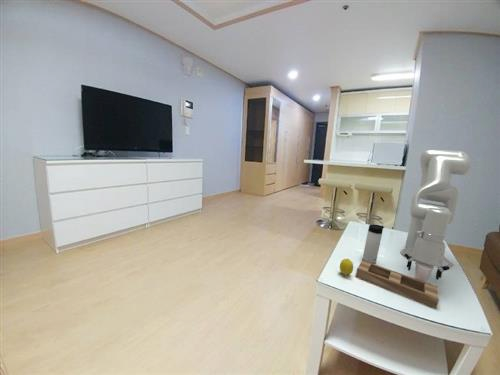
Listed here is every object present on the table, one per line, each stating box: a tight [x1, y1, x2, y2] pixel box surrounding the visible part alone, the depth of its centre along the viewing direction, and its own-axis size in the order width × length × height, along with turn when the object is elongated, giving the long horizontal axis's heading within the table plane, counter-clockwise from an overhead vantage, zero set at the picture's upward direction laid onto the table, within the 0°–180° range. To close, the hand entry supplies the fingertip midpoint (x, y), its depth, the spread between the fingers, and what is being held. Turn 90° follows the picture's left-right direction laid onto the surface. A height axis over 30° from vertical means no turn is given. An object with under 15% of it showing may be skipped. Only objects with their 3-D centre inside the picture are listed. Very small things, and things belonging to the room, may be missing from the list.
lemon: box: [339, 258, 354, 276], centre depth 97 cm, size 6×6×8 cm
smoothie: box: [414, 261, 435, 283], centre depth 94 cm, size 6×6×14 cm
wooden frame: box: [355, 259, 440, 310], centre depth 92 cm, size 11×28×4 cm, turn 51°
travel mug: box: [361, 223, 385, 265], centre depth 110 cm, size 6×7×20 cm
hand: (422, 273), depth 94 cm, fingers open, 9 cm apart
